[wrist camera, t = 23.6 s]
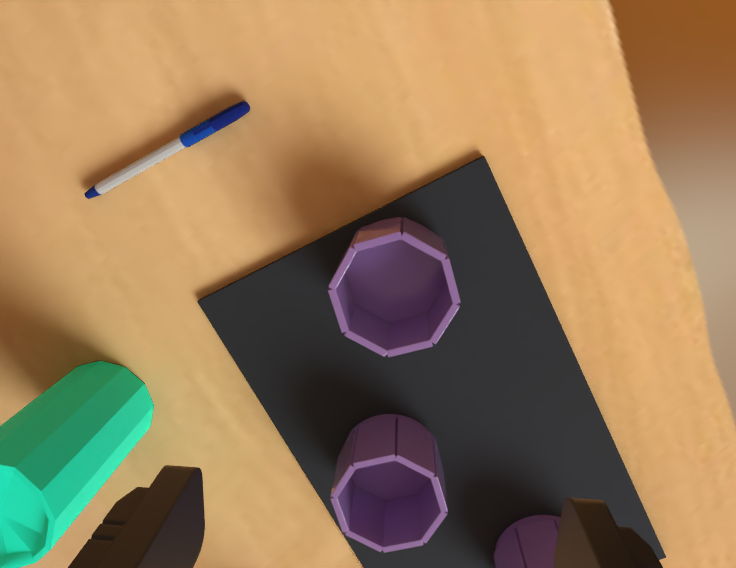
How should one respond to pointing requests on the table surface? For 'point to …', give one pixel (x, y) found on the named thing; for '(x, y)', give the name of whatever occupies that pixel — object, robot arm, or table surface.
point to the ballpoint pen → (171, 148)
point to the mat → (436, 378)
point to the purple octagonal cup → (389, 484)
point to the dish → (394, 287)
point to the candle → (65, 454)
